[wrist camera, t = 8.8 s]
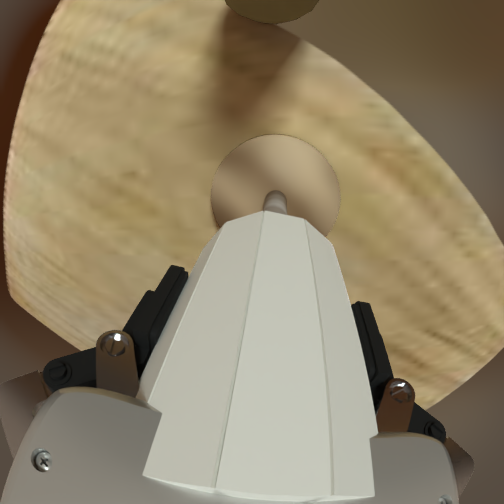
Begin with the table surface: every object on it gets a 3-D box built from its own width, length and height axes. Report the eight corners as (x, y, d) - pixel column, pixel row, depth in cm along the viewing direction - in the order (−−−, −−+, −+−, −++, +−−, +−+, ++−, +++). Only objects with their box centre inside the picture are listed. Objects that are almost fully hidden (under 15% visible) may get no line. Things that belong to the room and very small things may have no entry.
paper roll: (273, 344, 17) (257, 523, 7) (177, 278, 15) (86, 470, 5) (364, 274, 14) (425, 492, 4) (261, 181, 12) (188, 463, 2)
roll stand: (280, 271, 31) (277, 341, 21) (191, 201, 28) (148, 250, 19) (361, 194, 25) (401, 242, 16) (269, 107, 23) (260, 105, 13)
